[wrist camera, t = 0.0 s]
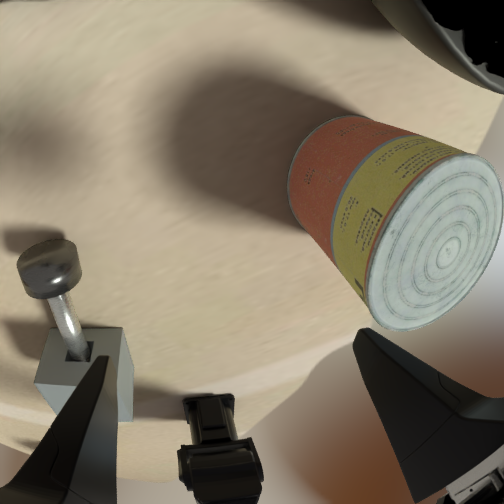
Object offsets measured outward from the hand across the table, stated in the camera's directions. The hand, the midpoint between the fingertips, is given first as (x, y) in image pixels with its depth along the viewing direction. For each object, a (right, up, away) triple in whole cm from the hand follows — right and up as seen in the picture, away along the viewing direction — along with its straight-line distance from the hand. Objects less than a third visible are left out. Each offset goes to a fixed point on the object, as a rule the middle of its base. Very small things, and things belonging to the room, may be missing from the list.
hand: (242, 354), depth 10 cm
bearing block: (-16, -7, +17) cm, 24 cm away
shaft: (-15, -1, +14) cm, 21 cm away
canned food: (+8, +9, +14) cm, 19 cm away
